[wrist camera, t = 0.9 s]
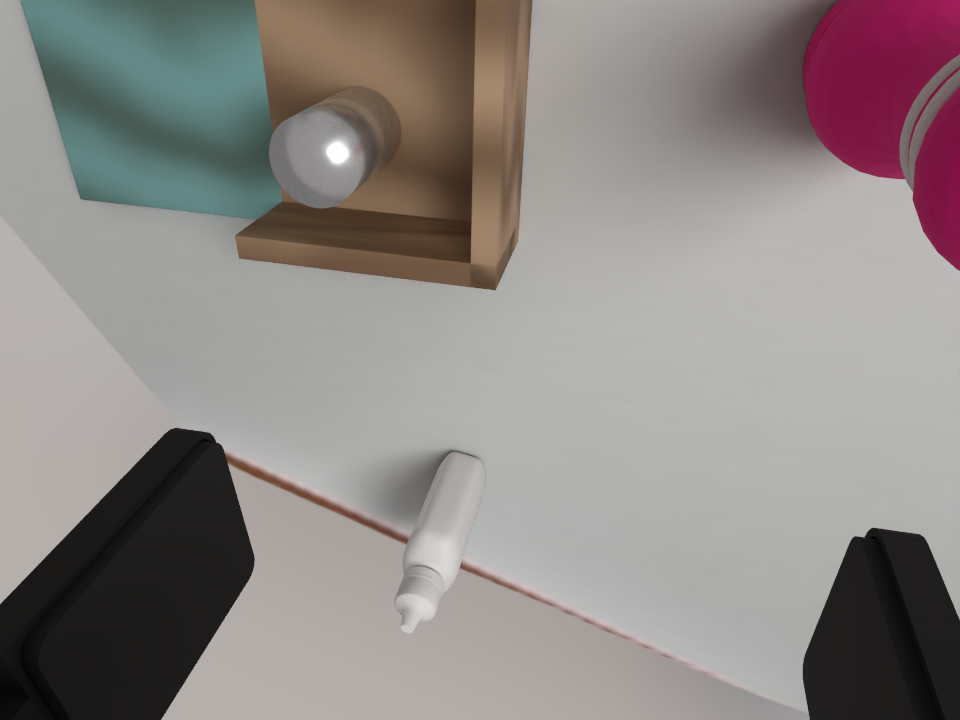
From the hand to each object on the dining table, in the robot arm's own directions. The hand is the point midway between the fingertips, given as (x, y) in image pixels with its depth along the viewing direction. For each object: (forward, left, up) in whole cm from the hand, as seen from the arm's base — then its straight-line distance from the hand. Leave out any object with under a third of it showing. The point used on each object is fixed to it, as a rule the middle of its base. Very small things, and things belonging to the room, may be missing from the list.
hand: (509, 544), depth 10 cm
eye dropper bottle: (+25, -7, -27) cm, 37 cm away
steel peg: (+1, -12, -26) cm, 29 cm away
